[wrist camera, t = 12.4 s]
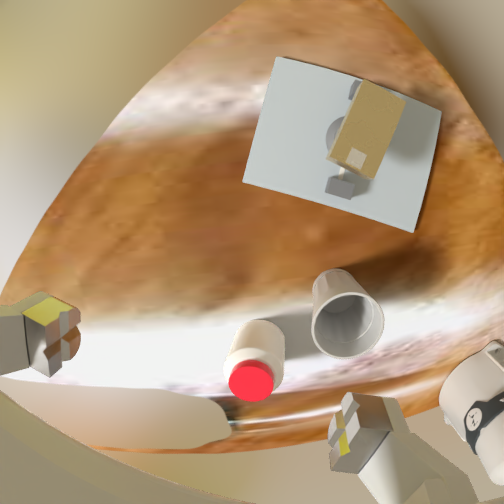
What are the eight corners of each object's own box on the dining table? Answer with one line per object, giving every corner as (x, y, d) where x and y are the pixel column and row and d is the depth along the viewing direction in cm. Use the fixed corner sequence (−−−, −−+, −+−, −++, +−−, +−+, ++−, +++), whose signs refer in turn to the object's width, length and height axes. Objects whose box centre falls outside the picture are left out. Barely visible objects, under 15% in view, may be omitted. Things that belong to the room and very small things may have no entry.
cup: (295, 294, 44) (295, 333, 33) (331, 251, 42) (346, 276, 31) (336, 326, 45) (349, 371, 33) (373, 285, 43) (398, 319, 31)
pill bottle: (296, 343, 46) (296, 386, 35) (259, 371, 48) (251, 417, 37) (259, 309, 45) (249, 346, 35) (223, 340, 47) (206, 381, 36)
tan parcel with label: (355, 90, 31) (364, 78, 26) (392, 110, 31) (406, 101, 26) (324, 159, 33) (329, 156, 28) (363, 179, 33) (374, 179, 28)
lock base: (438, 113, 36) (461, 103, 29) (410, 231, 40) (430, 241, 33) (276, 59, 37) (273, 38, 30) (243, 181, 42) (234, 182, 35)
